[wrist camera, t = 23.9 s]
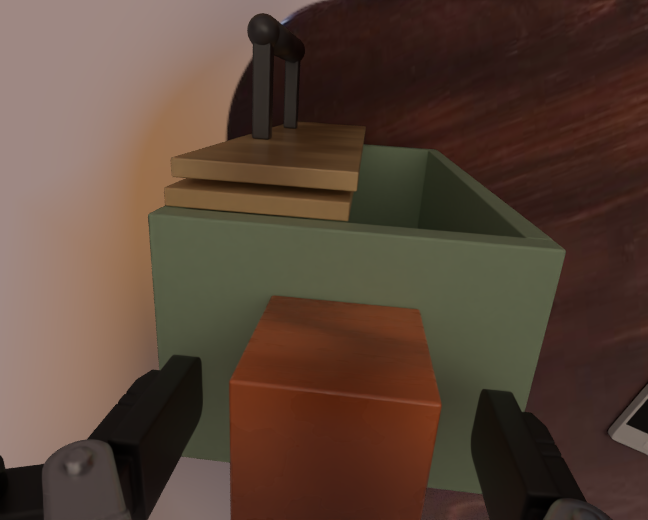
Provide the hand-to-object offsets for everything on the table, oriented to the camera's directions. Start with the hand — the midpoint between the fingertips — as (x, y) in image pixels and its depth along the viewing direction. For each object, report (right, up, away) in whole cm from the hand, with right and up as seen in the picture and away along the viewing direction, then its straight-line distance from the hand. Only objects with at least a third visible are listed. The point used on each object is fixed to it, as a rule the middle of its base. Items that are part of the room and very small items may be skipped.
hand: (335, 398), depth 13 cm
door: (0, +17, +22) cm, 28 cm away
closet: (+3, +9, +26) cm, 28 cm away
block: (0, +1, +1) cm, 2 cm away
